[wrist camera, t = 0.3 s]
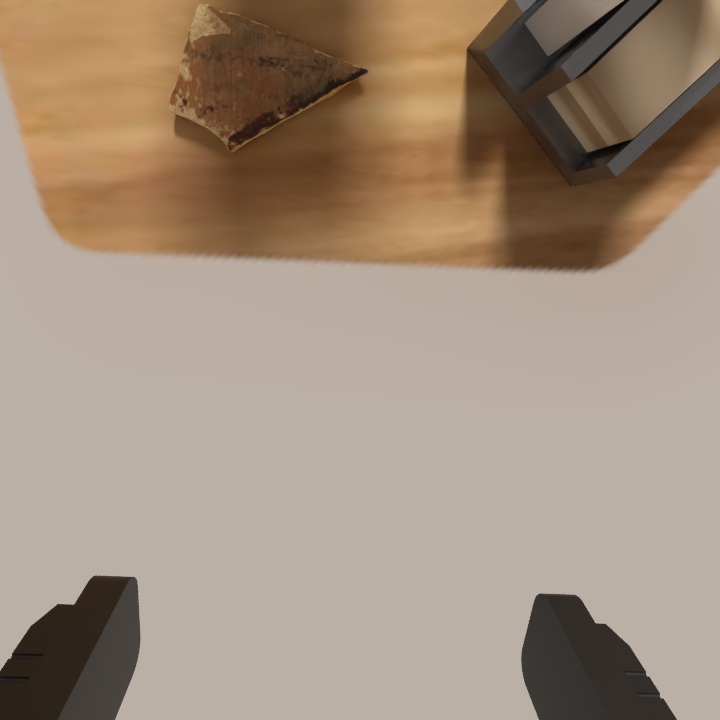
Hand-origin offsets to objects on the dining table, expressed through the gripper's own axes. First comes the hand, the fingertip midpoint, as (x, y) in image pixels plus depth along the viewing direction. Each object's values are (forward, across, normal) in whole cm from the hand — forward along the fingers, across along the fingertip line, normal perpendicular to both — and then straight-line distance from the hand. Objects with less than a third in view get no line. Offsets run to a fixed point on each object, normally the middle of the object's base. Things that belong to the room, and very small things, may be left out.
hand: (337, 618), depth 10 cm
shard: (+30, +6, -15) cm, 34 cm away
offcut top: (+26, -18, -18) cm, 37 cm away
